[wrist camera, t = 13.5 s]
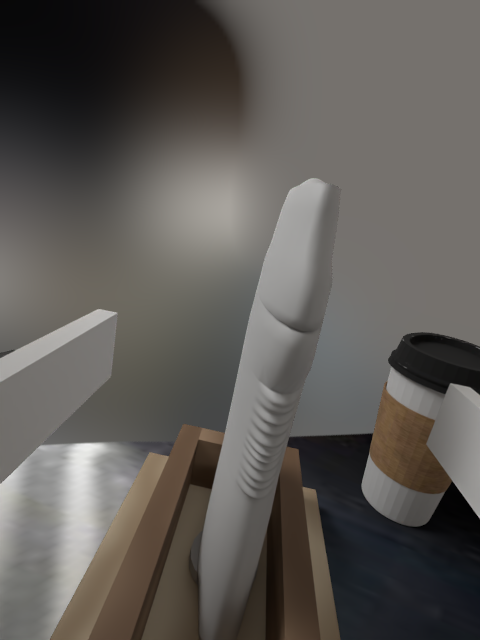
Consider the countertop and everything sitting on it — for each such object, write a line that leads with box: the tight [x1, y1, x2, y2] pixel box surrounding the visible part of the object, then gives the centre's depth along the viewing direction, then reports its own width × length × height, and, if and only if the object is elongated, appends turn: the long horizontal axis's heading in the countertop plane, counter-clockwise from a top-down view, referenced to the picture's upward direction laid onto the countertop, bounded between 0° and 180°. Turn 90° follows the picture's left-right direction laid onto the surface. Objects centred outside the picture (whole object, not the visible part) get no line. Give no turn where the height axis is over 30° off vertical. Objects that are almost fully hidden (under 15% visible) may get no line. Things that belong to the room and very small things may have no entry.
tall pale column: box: [189, 178, 341, 640], centre depth 18 cm, size 11×4×22 cm, turn 179°
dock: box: [50, 424, 341, 640], centre depth 20 cm, size 14×18×6 cm
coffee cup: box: [362, 332, 480, 527], centre depth 30 cm, size 8×8×15 cm
